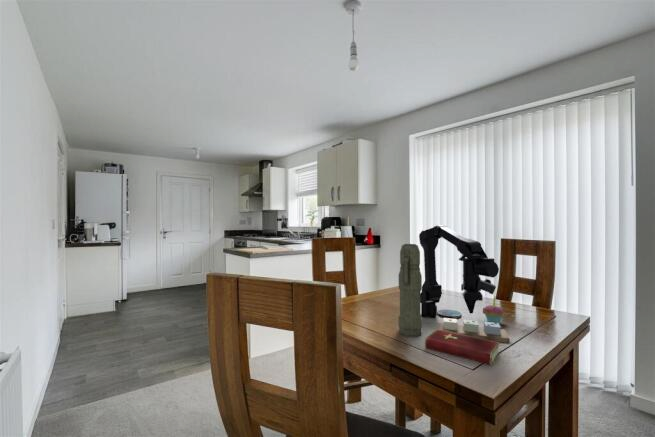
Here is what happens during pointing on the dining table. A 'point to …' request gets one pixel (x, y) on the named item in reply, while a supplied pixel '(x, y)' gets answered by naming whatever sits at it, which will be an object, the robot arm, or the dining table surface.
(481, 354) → the hardcover book
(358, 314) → the dining table surface
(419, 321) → the moai stone figurine
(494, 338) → the wooden plank tray
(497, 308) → the cupcake
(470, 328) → the tile two
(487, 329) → the tile three
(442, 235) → the robot arm
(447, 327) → the tile one
